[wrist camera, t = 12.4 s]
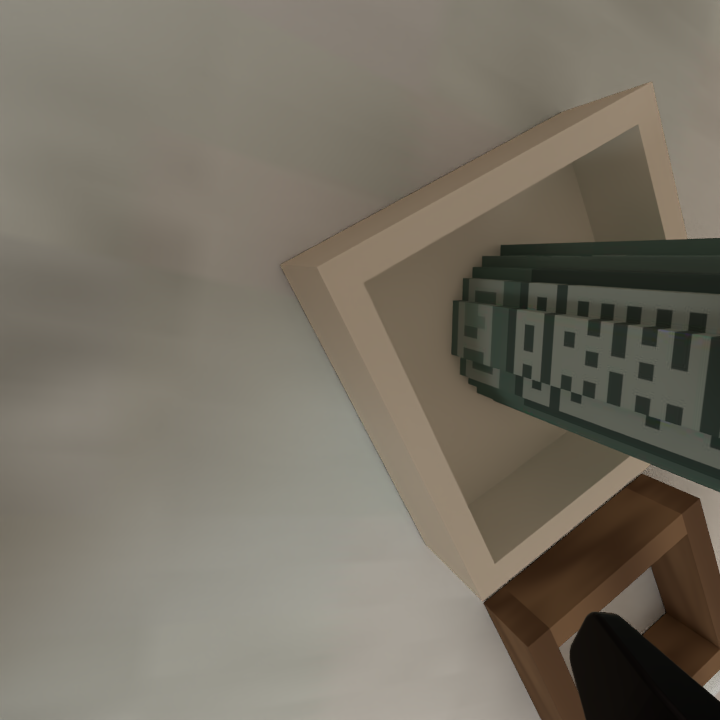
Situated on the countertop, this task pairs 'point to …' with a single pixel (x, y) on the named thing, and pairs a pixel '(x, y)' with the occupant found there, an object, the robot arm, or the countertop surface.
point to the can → (603, 344)
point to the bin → (434, 329)
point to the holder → (614, 590)
